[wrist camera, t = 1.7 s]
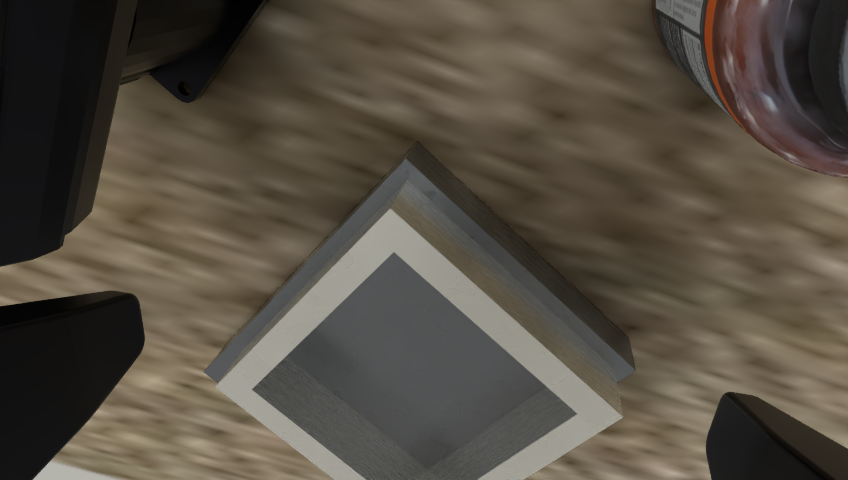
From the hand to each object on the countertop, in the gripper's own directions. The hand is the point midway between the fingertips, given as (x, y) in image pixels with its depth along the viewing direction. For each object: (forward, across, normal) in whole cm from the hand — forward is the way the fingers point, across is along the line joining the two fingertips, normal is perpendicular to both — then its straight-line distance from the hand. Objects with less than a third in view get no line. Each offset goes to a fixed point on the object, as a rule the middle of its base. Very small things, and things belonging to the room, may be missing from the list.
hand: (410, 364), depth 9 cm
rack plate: (+13, -2, -9) cm, 16 cm away
